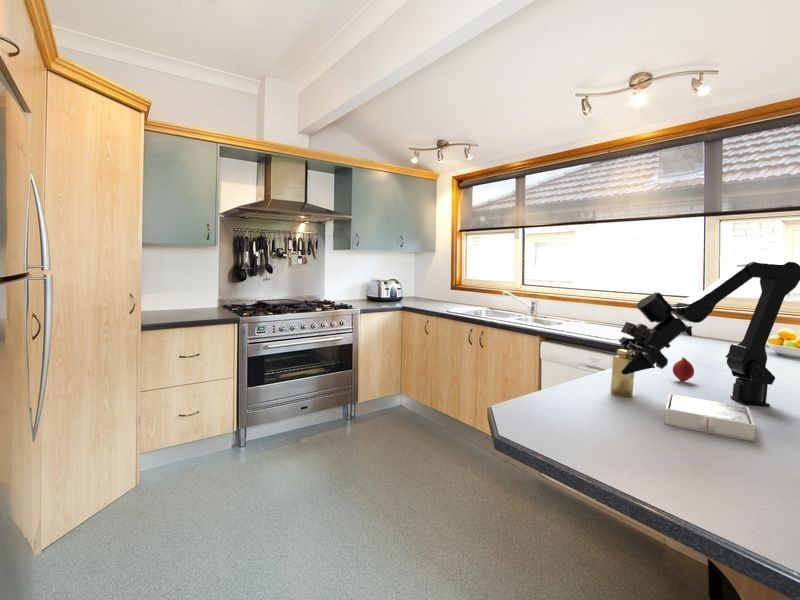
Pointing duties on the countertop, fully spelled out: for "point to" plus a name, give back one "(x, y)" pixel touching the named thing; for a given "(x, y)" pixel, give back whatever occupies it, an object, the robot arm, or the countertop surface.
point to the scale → (710, 422)
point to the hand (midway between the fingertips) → (618, 370)
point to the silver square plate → (709, 408)
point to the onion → (683, 370)
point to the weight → (620, 382)
